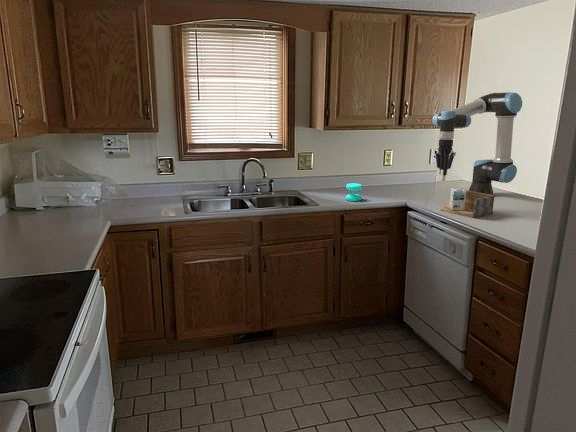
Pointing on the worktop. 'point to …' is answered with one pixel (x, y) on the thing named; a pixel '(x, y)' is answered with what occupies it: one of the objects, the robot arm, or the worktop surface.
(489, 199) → the shelf
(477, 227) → the worktop surface
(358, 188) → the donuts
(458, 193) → the light bulb box
